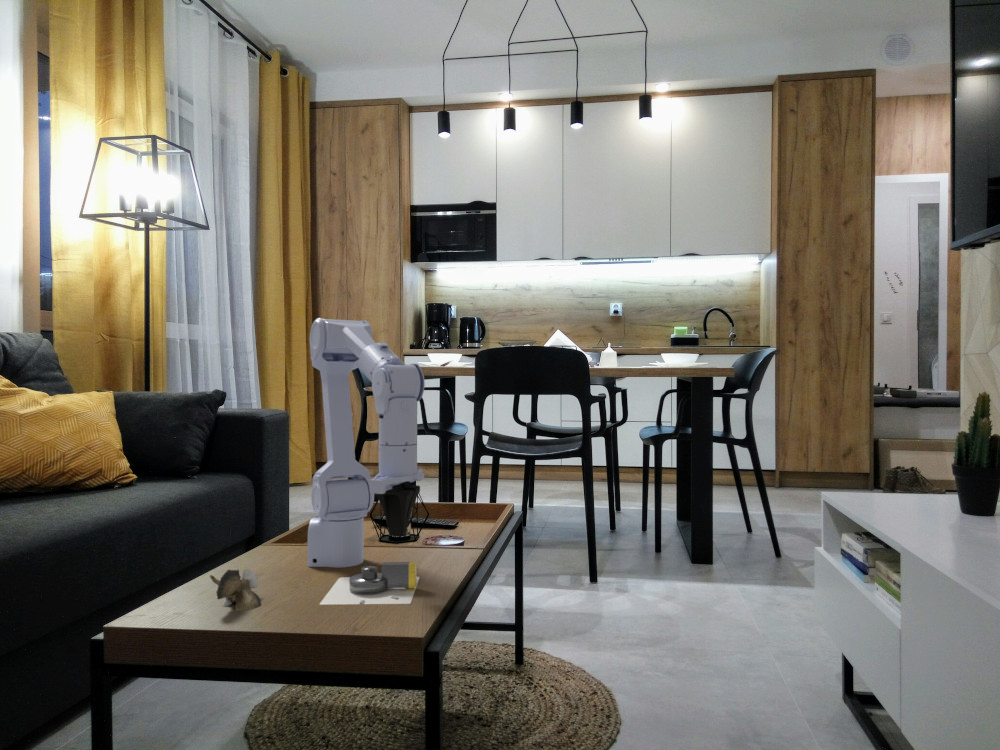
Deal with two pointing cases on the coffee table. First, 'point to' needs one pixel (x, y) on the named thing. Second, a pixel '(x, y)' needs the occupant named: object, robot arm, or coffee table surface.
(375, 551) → the coffee table surface
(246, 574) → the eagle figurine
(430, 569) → the coffee table surface
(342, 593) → the dial plate
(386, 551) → the coffee table surface
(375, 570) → the dial
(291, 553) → the coffee table surface
